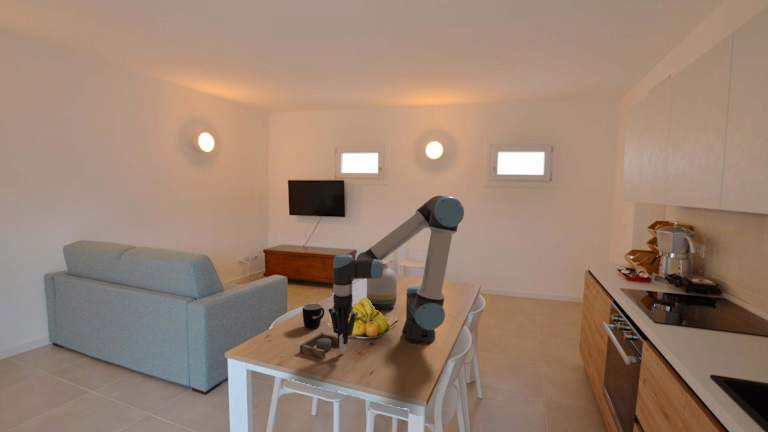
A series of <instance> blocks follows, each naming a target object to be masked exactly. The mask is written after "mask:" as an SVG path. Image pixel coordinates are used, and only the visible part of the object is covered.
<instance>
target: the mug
mask: <svg viewBox="0 0 768 432" xmlns="http://www.w3.org/2000/svg"><path fill="white" fill-rule="evenodd" d="M324 315H325V309H324V307H322V304H320V303H313V302H312V303H306V304H304V305H303V306H302V319H303V325H304V327H305V329H307V330H316V329H318V328H319V327H320V324H321V321H322V319H323V318H324Z"/></svg>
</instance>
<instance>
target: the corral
mask: <svg viewBox="0 0 768 432" xmlns="http://www.w3.org/2000/svg"><path fill="white" fill-rule="evenodd" d="M321 338H328V339H330V340H331V345H336V346H339V343H338V335H333V334H328V333H324V332H320V333H319V334H317V335H315V336H314V337H311V338H310V339H308V340H307V341H305V342H304V343H302V344H300V345H299V353H300V354H301V353H302V354H304V355H308V356H311V357H315V358H318V359H322V360H325V359H326V354H327V352H326V351H325V350H322V349H318V348H316V347H315V346H316V341H317V340H318V339H321Z"/></svg>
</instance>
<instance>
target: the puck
mask: <svg viewBox="0 0 768 432" xmlns="http://www.w3.org/2000/svg"><path fill="white" fill-rule="evenodd" d="M315 346H316V347H315V348H318V349H322V350H325V351H326V353H328V352H330V351H331V350H332V343H331V340H330V339H328V338H321V339H318V340H317V341H316V345H315Z"/></svg>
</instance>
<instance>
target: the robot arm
mask: <svg viewBox="0 0 768 432" xmlns="http://www.w3.org/2000/svg"><path fill="white" fill-rule="evenodd" d="M464 216H465V209H464V205H463V204H462V203H461V202H460V200H458V199H457V198H455V197H453V196H450V195H436V196H433V197H432V198H430V199H428V200H427V201H426V202H425V203H424V204H422V205H421V206H420V207H419V208H417V209H416V210H415V214H413V215H412V216H411V217H409V218H408V219H406V220H404V222H403V223H402V224H400V225H399V226H397V227H395V228H394V229H393V230H392V231H391V232H389V233H388V234H387V235H385V236H384V237H383V238H381V239H379V241H377V242H376V243H375V244H374V245H372V246H371V247H370V248H368V249H367V250H366V251H363V252H360V253H359V254H358V255H357V256H356V259H354V258H353V255H351V254H349V253H348V254H347V253H346V254H345V253H342V254H341V253H340V254H336V255H335V256H334V257H333V264H332V265H333V272H332V273H333V282H332V283H333V287H332V288H333V290H332V291H333V295H332V296H333V302H332V303H333V306H332V307H330V308H328V310H327V311H328V313H329V314H330V319H331V325H332V330H333V333H334V334H337V337H338V343H339V345H338V347H339V352H340V353H344V352H346V351H347V344H348V342H349V336H351V335H352V334H353V332H354V327H355V322H356V319H357V317H358V315H359V313H358V312H357V311H355V310H354V309H353V308H354V307H353V294H352V293H353V280H361V279H362V280H363V279H366V280H367V279H375V278H381V277H382V275H383V264H384V263H383V261H384V260H385V259H386V258H388V257H389V256H390V255H392V254H393V253H394V252H395V251H396V250H398V249H400V248H401V247H402V246H403V245H405V244H406V243H408V242H409V241H410V240H411V239H412V238H414V237H415V236H416V235H418V234H420V232H422V231H423V230H425V229H426V228H427V229H430V236H429V242H428V247H427V253H426V259H425V264H424V270H423V275H422V282H421V285H413V286H409V287H407V288H406V294H405V295H406V305H405V306H406V309H405V310H406V311H405V312H406V313H405V319H406V320H405V321H404V325H403V327H402V330H401V338H402V340H404V341H406V342H407V343H411V344H417V345H419V344H420V345H422V344H429V343H432V342H433V341H435V340H436V331H435V330H436V329H437V328H439V327H440V326H442V325H443V324H444V322H445V319H446V313H445V309H444V302H445V298H446V297H445V295H444V293H443V287H444V281H445V277H446V270H447V265H448V261H449V260H448V259H449V253H450V249H451V243H452V237H453V235H454V234H456V233H457V232H458V227H459V225H460V223H462V221H463V219H464Z"/></svg>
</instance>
